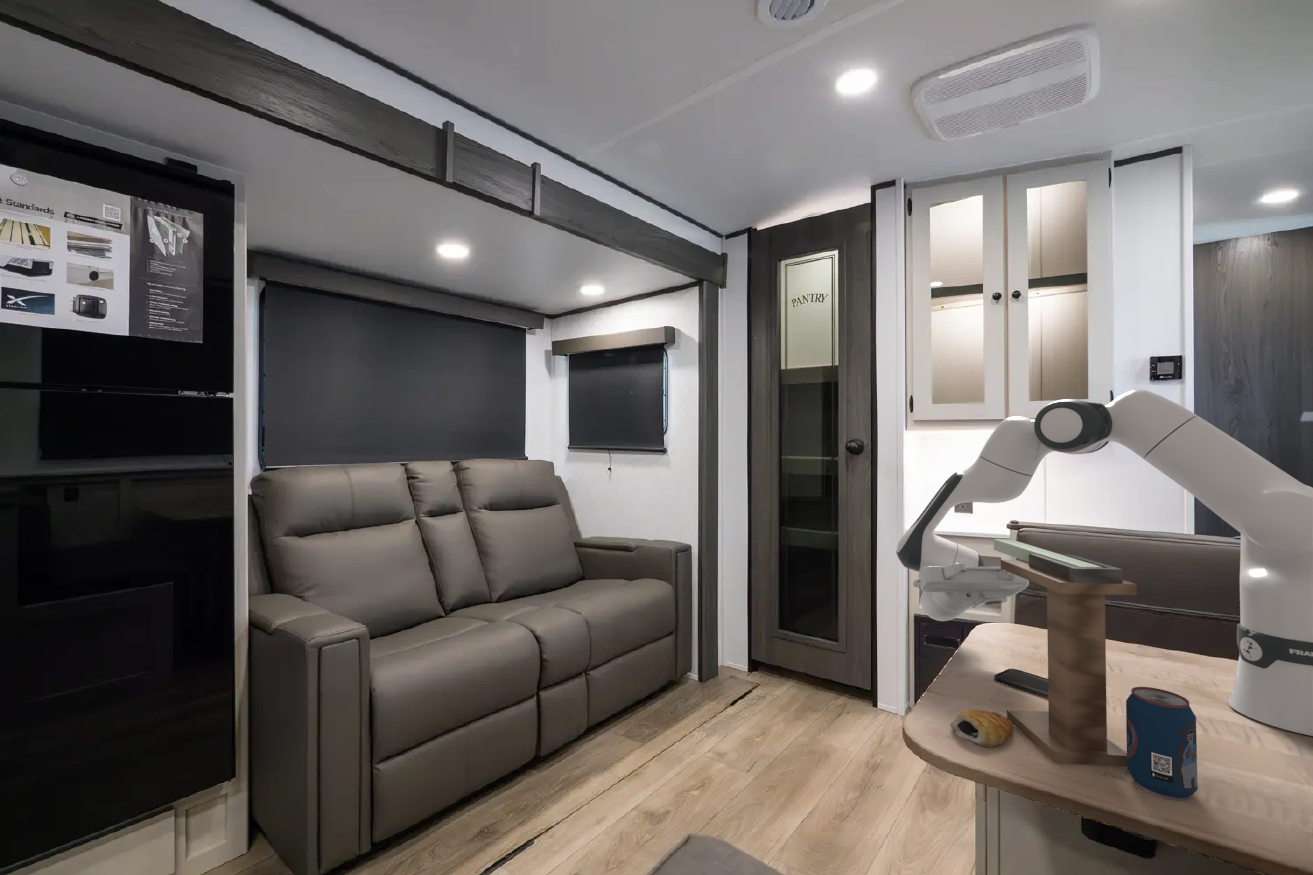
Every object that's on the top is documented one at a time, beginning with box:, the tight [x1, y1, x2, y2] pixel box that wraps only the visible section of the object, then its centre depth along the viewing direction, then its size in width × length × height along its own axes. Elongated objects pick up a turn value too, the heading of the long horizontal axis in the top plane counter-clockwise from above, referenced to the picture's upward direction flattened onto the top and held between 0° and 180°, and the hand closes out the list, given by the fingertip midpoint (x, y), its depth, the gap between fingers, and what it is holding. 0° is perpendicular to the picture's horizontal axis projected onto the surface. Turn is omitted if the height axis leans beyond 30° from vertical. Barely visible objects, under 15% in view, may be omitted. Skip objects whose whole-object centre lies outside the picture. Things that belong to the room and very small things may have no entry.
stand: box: [1000, 553, 1138, 768], centre depth 86 cm, size 10×16×28 cm, turn 175°
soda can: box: [1125, 686, 1198, 801], centre depth 74 cm, size 7×7×12 cm
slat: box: [993, 538, 1102, 568], centre depth 91 cm, size 3×24×2 cm, turn 175°
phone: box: [993, 668, 1048, 700], centre depth 104 cm, size 8×1×15 cm
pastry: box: [950, 708, 1015, 748], centre depth 88 cm, size 9×7×4 cm
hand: (986, 566), depth 109 cm, fingers open, 8 cm apart
